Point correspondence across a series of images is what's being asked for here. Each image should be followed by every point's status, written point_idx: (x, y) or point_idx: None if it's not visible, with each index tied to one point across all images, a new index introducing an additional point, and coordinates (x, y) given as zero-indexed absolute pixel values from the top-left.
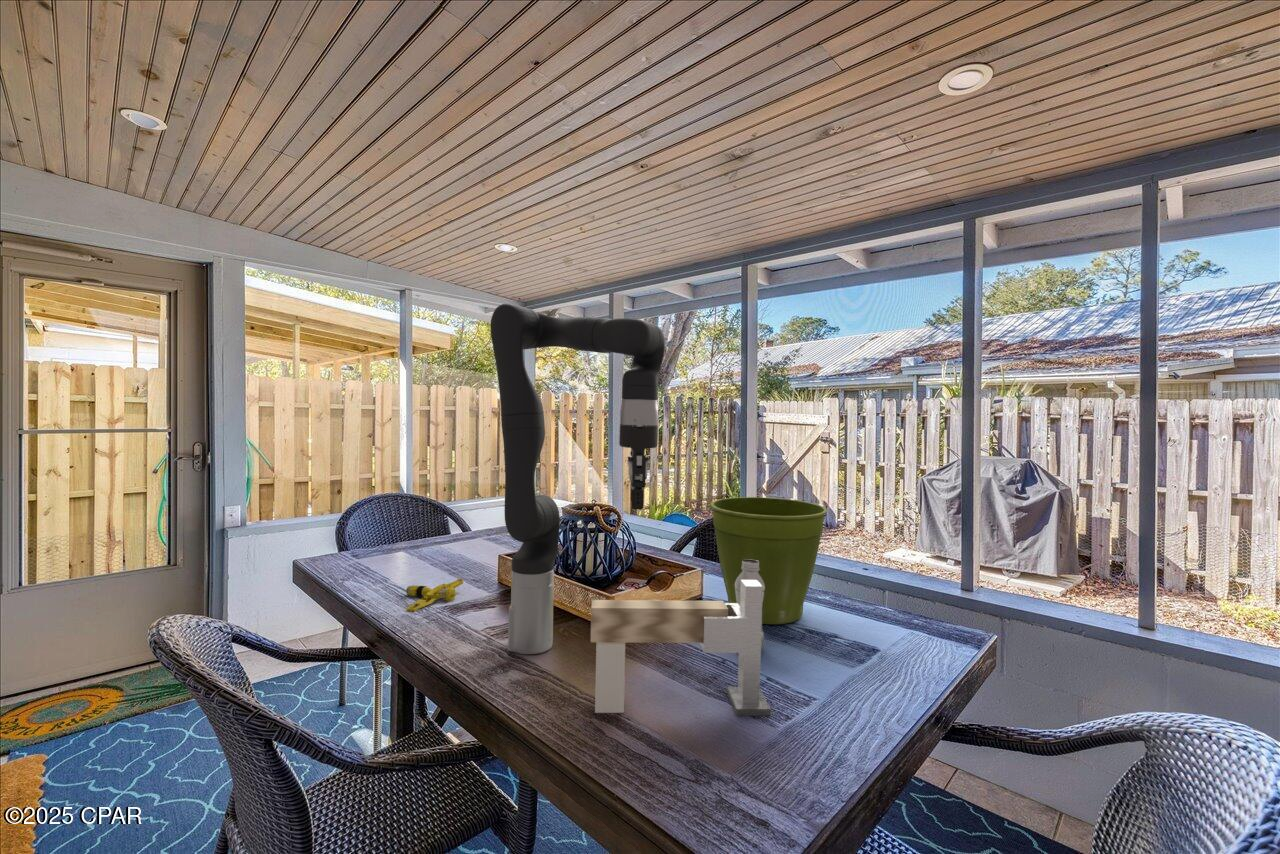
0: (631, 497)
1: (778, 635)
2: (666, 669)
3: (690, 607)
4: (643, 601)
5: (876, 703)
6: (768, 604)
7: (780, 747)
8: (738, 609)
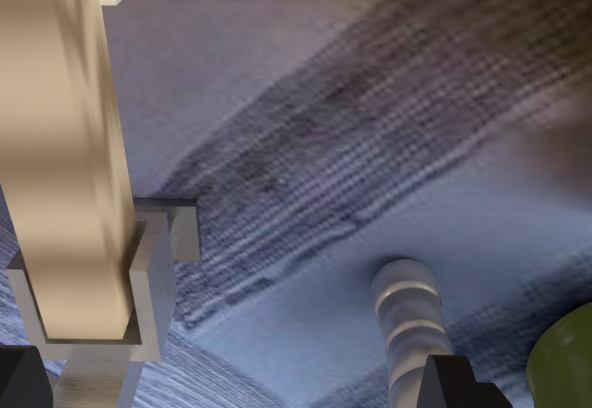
0: (437, 387)
1: (474, 345)
2: (314, 87)
3: (33, 251)
4: (57, 111)
5: (181, 396)
6: (545, 382)
7: (13, 241)
8: (105, 354)
